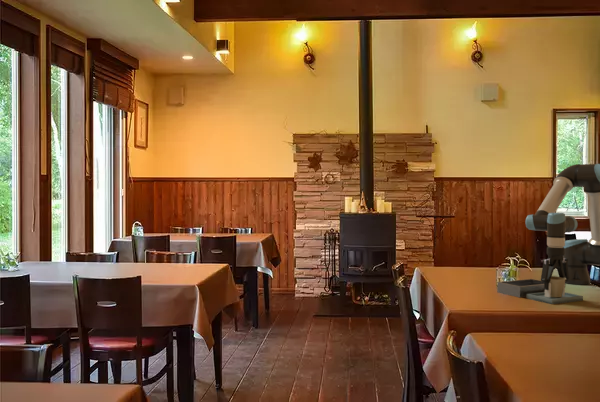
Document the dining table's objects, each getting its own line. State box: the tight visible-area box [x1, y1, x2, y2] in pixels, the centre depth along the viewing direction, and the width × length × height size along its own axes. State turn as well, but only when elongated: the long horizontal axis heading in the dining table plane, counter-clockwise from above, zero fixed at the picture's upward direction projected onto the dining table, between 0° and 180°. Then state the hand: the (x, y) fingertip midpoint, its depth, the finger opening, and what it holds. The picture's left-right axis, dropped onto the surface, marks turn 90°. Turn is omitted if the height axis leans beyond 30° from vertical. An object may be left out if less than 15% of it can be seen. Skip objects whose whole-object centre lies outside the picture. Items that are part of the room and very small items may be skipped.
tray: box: [526, 292, 584, 305], centre depth 261 cm, size 20×14×2 cm
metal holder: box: [496, 278, 545, 298], centre depth 275 cm, size 23×14×5 cm, turn 116°
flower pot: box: [547, 275, 566, 298], centre depth 260 cm, size 9×9×9 cm
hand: (554, 295), depth 261 cm, fingers closed on flower pot, 8 cm apart
